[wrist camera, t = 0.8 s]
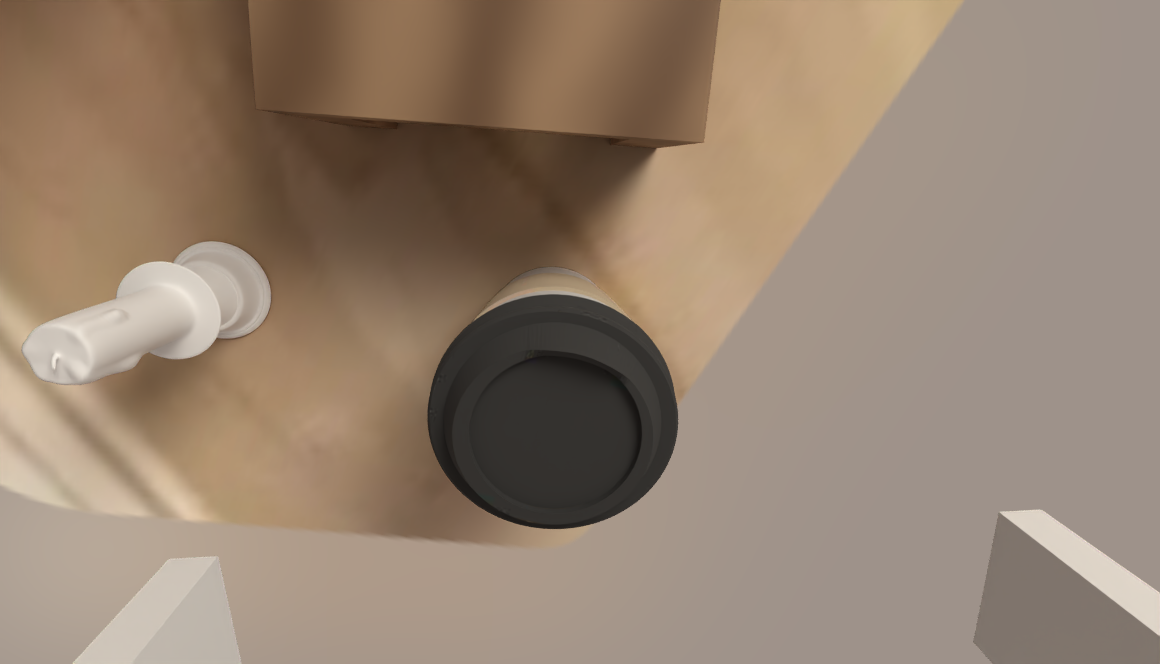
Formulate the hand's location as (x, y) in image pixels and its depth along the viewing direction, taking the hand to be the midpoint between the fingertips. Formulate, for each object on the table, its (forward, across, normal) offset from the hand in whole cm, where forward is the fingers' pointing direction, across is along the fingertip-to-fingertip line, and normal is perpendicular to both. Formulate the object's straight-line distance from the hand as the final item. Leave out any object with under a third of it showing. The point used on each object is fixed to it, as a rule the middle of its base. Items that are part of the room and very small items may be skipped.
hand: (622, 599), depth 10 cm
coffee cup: (+25, -1, -2) cm, 25 cm away
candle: (+25, -19, +1) cm, 31 cm away
